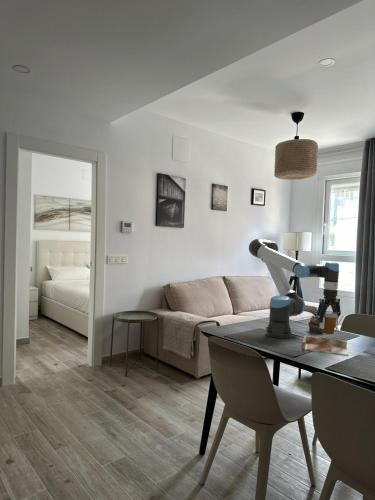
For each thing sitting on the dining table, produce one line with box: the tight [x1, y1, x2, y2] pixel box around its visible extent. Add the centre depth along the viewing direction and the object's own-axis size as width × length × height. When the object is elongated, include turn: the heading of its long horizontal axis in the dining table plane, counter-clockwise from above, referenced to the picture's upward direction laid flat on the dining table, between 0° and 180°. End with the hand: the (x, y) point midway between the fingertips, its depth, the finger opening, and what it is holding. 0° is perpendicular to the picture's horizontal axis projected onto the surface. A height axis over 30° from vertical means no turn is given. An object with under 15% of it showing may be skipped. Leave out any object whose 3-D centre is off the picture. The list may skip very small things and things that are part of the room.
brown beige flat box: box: [302, 335, 349, 357], centre depth 189 cm, size 22×15×4 cm
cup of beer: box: [321, 310, 338, 335], centre depth 205 cm, size 10×10×12 cm
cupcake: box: [307, 315, 323, 334], centre depth 229 cm, size 10×10×10 cm
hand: (328, 327), depth 205 cm, fingers closed on cup of beer, 9 cm apart
